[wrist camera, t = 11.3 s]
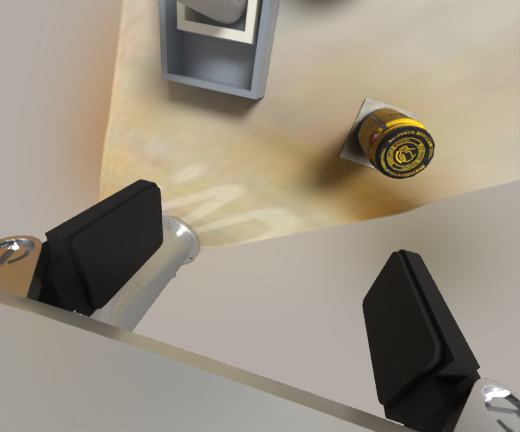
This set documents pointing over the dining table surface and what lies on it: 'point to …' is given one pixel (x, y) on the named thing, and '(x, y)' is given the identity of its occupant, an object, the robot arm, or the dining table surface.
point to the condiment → (389, 141)
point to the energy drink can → (218, 9)
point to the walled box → (218, 48)
